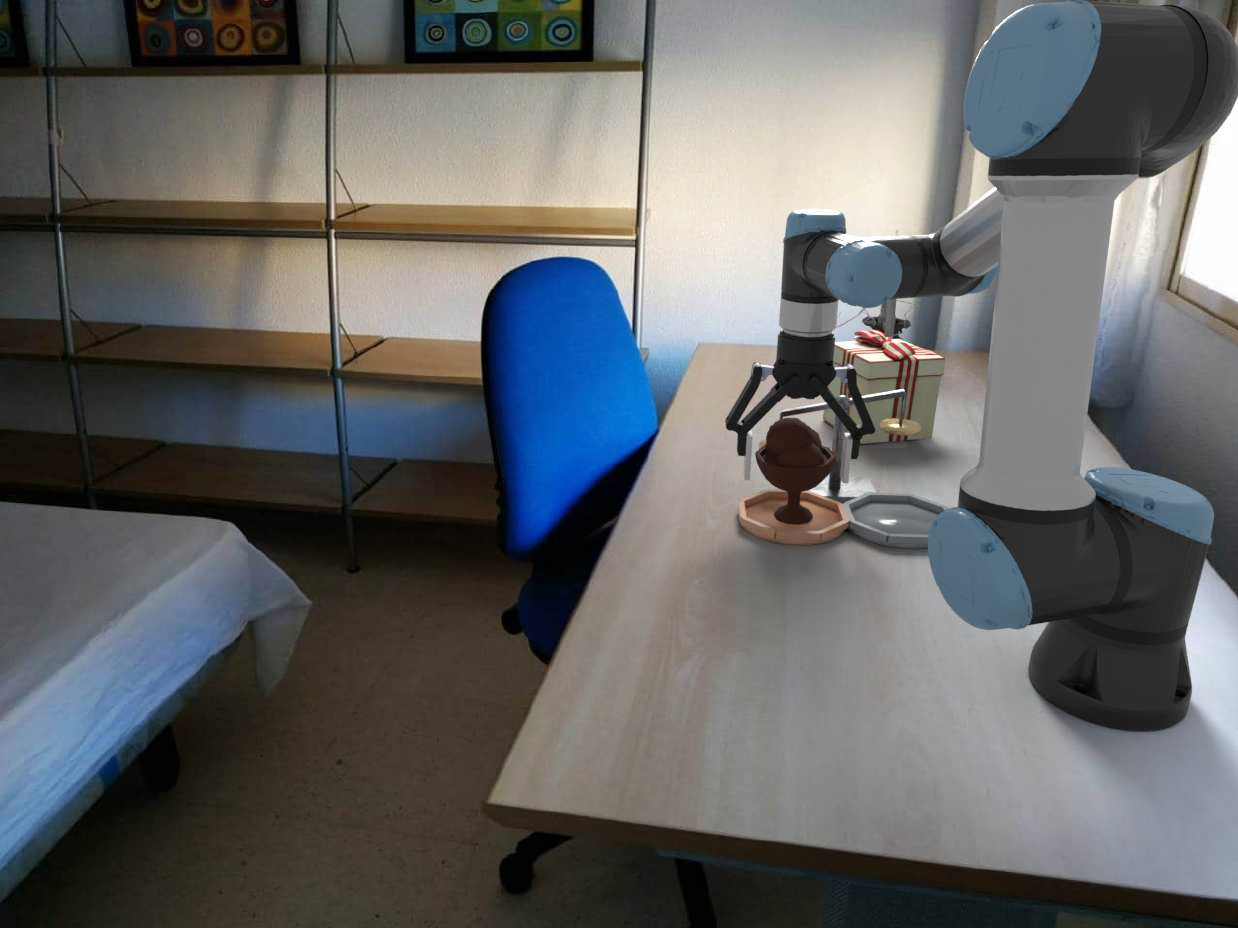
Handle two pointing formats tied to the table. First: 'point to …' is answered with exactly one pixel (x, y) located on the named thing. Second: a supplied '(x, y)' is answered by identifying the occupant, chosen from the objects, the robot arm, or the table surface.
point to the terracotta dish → (820, 529)
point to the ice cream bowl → (794, 465)
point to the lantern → (885, 320)
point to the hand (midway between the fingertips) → (795, 478)
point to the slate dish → (892, 519)
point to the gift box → (889, 382)
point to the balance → (833, 482)
